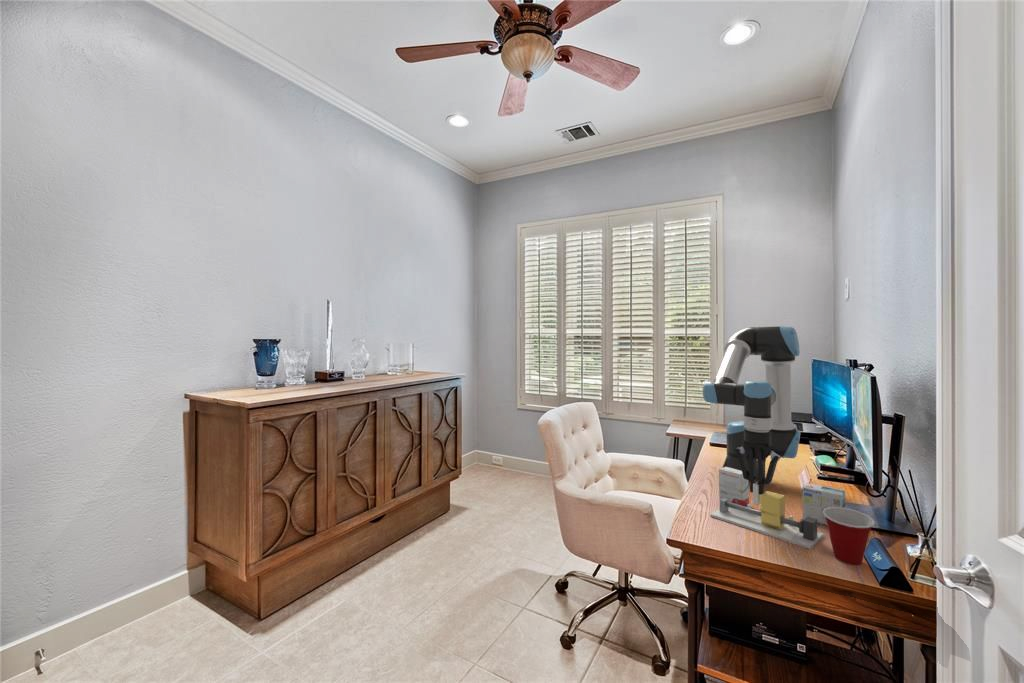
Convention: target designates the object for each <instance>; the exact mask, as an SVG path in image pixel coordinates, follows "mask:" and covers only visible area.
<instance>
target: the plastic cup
mask: <svg viewBox="0 0 1024 683" xmlns="http://www.w3.org/2000/svg"><path fill="white" fill-rule="evenodd" d="M823 514H824V516H825V518H826V521H827V524H828V525H827V529H828V534H829V539H830V544H831V548H832V553H833V556H834V558H835V559H836V560H838V561H840V562H842V563H845V564H848V565H853V566H854V565H855V566H859V565H861V564H862V562H863V559H864V556H865V552H866V549H867V544H868V540H869V536H870V532H871V530H872V527H874V525H875V520H874V519H873V517H871V516H869V515H868V514H866V513H863V512H862V511H858V510H856V509H851V508H846V507H845V508H840V507H828V508H825V509H824V510H823Z"/></svg>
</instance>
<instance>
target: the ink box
mask: <svg viewBox="0 0 1024 683" xmlns="http://www.w3.org/2000/svg"><path fill="white" fill-rule="evenodd" d="M718 492H719V493H718V494H719V495H718V496H719V498H718V499H719V501H720V500H721V499H723V498H725V499H728V502H731V503H734V504H738V505H741V506H745V507H747V504H750V482H749V481H748V480H747V479H744V478H743V474H742V471H740V470H736V469H733V468H729V467H724V468H722V467H721V468H718Z"/></svg>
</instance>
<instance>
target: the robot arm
mask: <svg viewBox="0 0 1024 683" xmlns="http://www.w3.org/2000/svg"><path fill="white" fill-rule="evenodd" d="M796 330H797V329H795V328H794V327H791V326H751V327H746V328H743V329H741V330H739V331H737V332H735V333H734V334H732V335H731V337H729V339H728V340H727V341H726V343H725V345H724V349H723V350H724V355H723V358H722V360H721V362H720V365H719V366H718V367H719V368H718V370H717V372H716V373H715V374H716V375H715V377H714V379H713V381H707V382H704V384H703V388H702V396H703V400H704V401H705V402H706V403H709V404H710V403H711V404H715V405H730V406H731V405H732V406H743V420H741V421H732V422H729V423H728V424H727V425H726V434H725V435H726V457H725V460H724V462H723V465H722V467H721V468H724V467H729V468H733V469H736V470H740V471H742V474H743V478H744V479H747V480H748V483H749V493H752V504H753V505H755V506H759V505H761V494H763V493H765V492H766V488H765V485H770V484H771V483H772V482H773V479H774V474H775V471H776V468H777V465H778V462H779V461H780V459H795V458H796V457H797V456H798V451H799V446H800V445H799V444H800V439H801V438H800V437H801V430H799V429H797V426H796V424H795V423H793V422H792V378H791V376H792V374H791V372H792V371H791V370H792V369H791V365H792V364H793V363H794V362H795V361H796V357H799V356H800V344H799V339H798V338H799V337H798V333H797V331H796ZM750 356H760V361H762V362H763V364H765V381H763V380H762V381H761V380H749V381H745V382H744V383H738V382H739V378H740V376H741V373H742V370H743V368H744V364H745V361H746V359H747V358H749V357H750ZM769 456H770V462H769V465H768V469H767V471H766V462H767V458H768V457H769Z"/></svg>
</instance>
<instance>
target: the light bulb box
mask: <svg viewBox="0 0 1024 683" xmlns="http://www.w3.org/2000/svg"><path fill="white" fill-rule="evenodd" d="M828 507H840V508H846V490H845V489H843V488H842V489H841V488H836V487H831V486H827V485H825V486H824V485H820V484H814V483H811V482H805V484H804V485H803V486H802V519H806V518H807V517H810V518H814V519H817V524H822V525H825V526H828V524H827V521H826V518H825V516H824V514H823V510H824V509H825V508H828Z"/></svg>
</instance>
